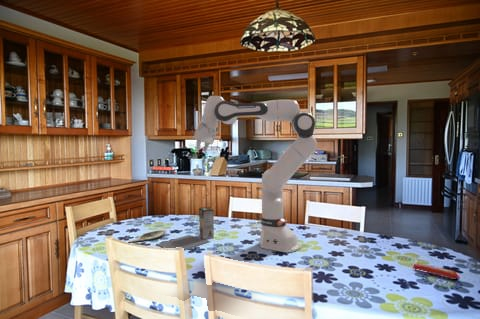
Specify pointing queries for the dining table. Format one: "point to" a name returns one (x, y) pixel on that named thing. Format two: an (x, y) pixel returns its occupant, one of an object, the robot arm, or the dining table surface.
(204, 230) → the coffee box
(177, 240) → the rubber mat
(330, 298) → the dining table surface
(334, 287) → the dining table surface
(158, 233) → the spoon
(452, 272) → the sausage
